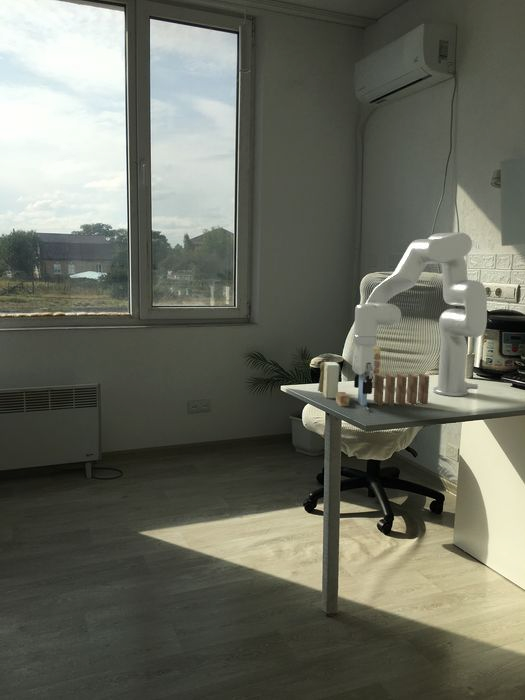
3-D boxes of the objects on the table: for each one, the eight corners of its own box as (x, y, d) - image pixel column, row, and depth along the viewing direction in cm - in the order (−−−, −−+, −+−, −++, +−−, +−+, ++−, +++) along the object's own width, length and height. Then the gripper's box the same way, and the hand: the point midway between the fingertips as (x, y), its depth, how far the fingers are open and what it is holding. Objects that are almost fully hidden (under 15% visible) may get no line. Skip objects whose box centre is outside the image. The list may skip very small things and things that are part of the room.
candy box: (379, 386, 231) (381, 347, 229) (372, 387, 228) (374, 348, 226) (362, 382, 238) (363, 345, 236) (354, 383, 235) (356, 345, 233)
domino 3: (388, 401, 206) (390, 373, 204) (393, 405, 201) (395, 376, 199) (384, 401, 206) (386, 373, 204) (389, 405, 201) (390, 376, 199)
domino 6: (421, 401, 207) (423, 373, 206) (427, 404, 203) (429, 376, 201) (417, 401, 207) (419, 373, 206) (423, 404, 202) (424, 376, 201)
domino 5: (410, 401, 207) (412, 373, 205) (416, 405, 202) (418, 376, 200) (406, 401, 207) (408, 373, 205) (411, 405, 202) (413, 376, 200)
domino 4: (399, 401, 206) (401, 373, 205) (405, 405, 201) (406, 376, 200) (395, 401, 206) (397, 373, 205) (400, 405, 201) (402, 376, 200)
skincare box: (322, 394, 215) (323, 361, 213) (334, 394, 215) (335, 361, 214) (325, 398, 209) (327, 364, 207) (338, 398, 209) (339, 364, 207)
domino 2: (377, 401, 205) (379, 373, 204) (382, 405, 200) (384, 376, 199) (373, 401, 205) (374, 373, 204) (378, 405, 200) (379, 376, 199)
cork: (337, 391, 221) (338, 362, 220) (327, 393, 217) (328, 364, 215) (324, 388, 225) (325, 360, 224) (314, 390, 221) (315, 361, 219)
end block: (344, 401, 204) (344, 392, 204) (349, 406, 198) (349, 396, 198) (335, 402, 204) (336, 392, 203) (340, 406, 198) (340, 396, 197)
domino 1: (362, 402, 205) (363, 373, 203) (366, 405, 200) (367, 376, 198) (357, 402, 204) (359, 373, 203) (361, 405, 199) (363, 376, 198)
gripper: (347, 337, 207) (345, 385, 209) (361, 344, 190) (359, 396, 192) (368, 337, 208) (365, 385, 210) (384, 344, 191) (381, 396, 193)
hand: (362, 390), depth 201 cm, fingers open, 9 cm apart
